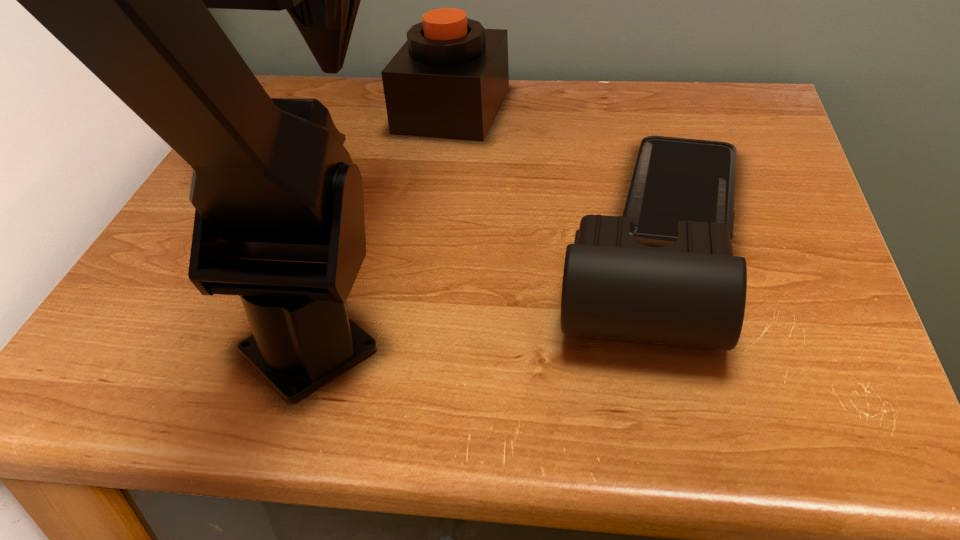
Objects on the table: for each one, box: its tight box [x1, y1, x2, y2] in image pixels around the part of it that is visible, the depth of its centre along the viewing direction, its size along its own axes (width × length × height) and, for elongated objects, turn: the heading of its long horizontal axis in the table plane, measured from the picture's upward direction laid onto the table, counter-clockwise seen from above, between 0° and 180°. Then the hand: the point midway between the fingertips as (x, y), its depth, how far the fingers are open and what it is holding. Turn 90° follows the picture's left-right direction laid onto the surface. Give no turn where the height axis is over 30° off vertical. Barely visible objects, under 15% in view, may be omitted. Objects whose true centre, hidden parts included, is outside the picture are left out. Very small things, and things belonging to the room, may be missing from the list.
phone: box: [622, 135, 738, 247], centre depth 57 cm, size 8×1×15 cm
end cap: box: [559, 214, 748, 351], centre depth 44 cm, size 10×7×7 cm
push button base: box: [380, 17, 510, 142], centre depth 68 cm, size 11×9×8 cm
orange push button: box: [421, 7, 468, 40], centre depth 66 cm, size 4×4×2 cm
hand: (332, 71), depth 48 cm, fingers closed
